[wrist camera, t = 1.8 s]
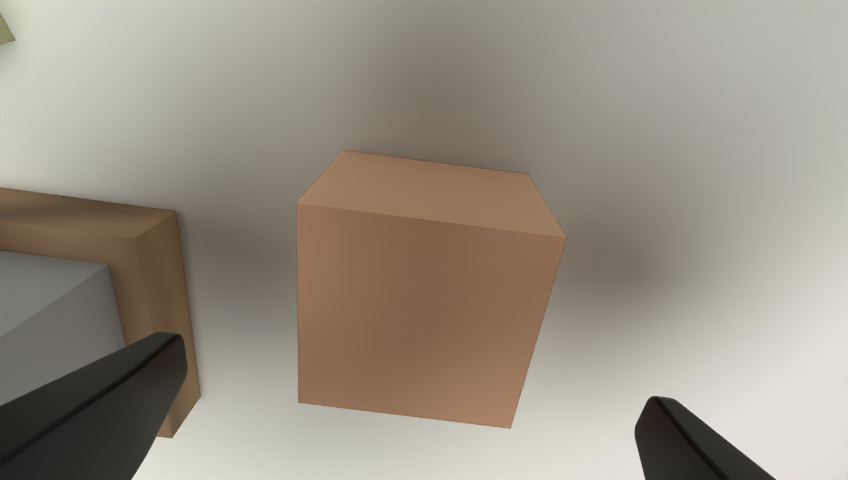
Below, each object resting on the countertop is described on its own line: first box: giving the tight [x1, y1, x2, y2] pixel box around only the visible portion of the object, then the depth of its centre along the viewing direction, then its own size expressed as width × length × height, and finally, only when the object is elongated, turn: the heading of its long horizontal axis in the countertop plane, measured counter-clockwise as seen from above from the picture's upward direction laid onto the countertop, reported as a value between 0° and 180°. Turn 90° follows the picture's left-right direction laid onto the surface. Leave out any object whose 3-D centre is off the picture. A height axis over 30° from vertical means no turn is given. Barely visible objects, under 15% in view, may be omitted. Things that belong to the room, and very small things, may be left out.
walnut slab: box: [0, 188, 201, 438], centre depth 15 cm, size 8×8×2 cm
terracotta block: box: [297, 150, 567, 429], centre depth 12 cm, size 6×6×4 cm
